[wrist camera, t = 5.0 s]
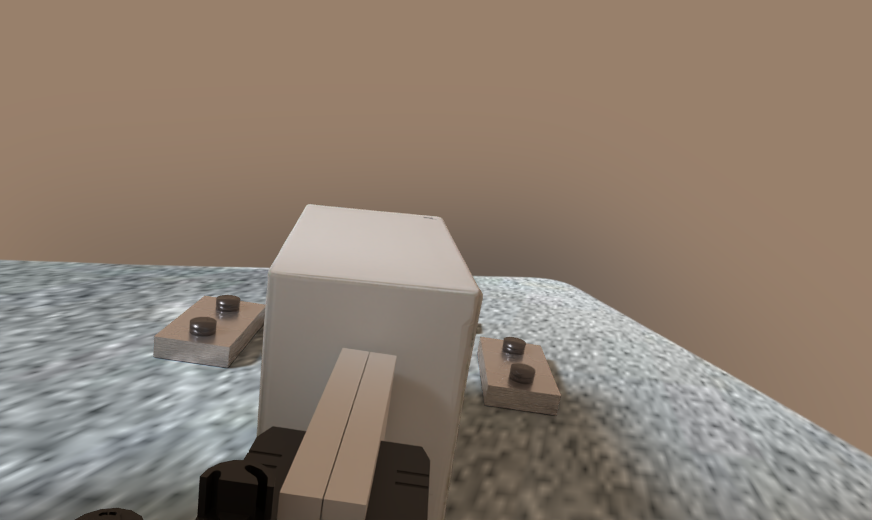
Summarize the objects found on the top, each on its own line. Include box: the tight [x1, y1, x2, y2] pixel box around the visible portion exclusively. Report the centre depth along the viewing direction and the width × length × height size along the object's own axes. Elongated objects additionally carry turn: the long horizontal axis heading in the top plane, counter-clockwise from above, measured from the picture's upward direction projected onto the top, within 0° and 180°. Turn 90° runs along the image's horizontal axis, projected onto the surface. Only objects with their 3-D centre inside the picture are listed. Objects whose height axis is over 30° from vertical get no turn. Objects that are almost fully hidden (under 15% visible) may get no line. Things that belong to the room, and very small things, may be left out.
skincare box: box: [257, 204, 483, 520], centre depth 23 cm, size 10×6×10 cm, turn 6°
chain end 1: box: [153, 295, 266, 368], centre depth 35 cm, size 4×7×2 cm, turn 0°
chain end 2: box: [477, 337, 561, 416], centre depth 36 cm, size 4×7×2 cm, turn 0°
